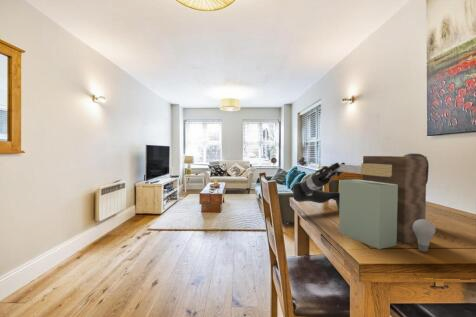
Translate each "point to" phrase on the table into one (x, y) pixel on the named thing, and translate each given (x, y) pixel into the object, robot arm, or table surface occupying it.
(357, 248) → the table surface
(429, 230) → the lightbulb
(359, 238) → the sage green carton
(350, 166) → the shaft
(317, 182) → the robot arm
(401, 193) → the parts stand
